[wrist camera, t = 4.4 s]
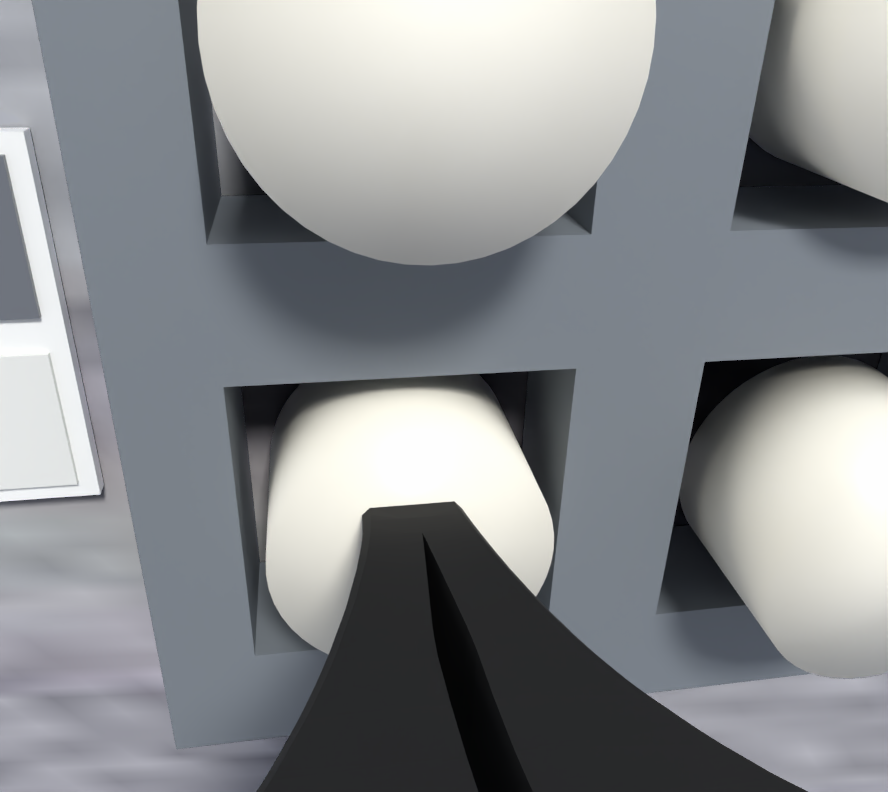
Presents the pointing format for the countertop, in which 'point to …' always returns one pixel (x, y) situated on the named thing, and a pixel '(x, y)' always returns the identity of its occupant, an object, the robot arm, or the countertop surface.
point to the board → (444, 344)
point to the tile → (37, 347)
